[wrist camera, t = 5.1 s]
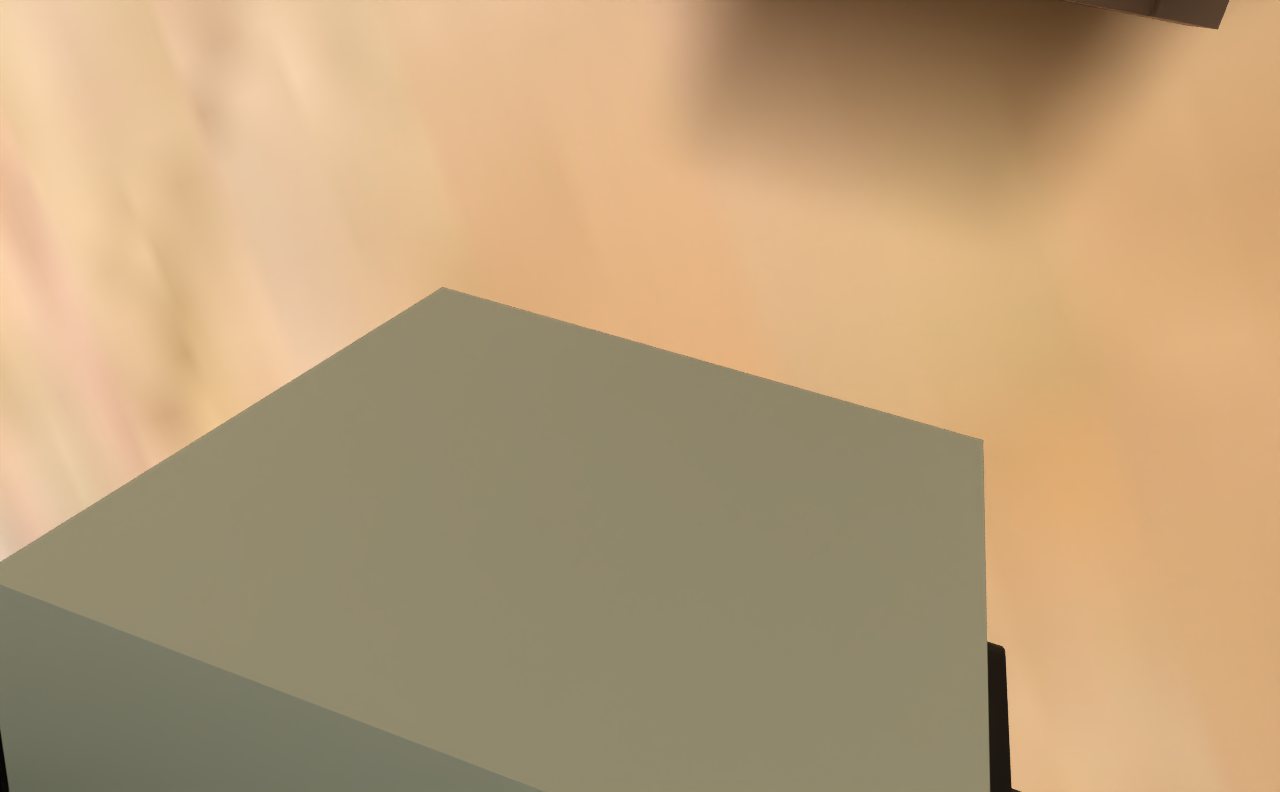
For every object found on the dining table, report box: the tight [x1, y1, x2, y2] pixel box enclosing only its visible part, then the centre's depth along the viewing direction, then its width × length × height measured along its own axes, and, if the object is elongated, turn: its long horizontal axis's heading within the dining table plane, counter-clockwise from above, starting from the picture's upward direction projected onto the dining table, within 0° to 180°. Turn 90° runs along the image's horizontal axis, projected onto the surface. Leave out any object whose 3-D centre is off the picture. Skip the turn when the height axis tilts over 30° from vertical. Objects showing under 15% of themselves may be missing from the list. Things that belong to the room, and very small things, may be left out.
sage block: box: [0, 287, 990, 792], centre depth 9 cm, size 6×6×6 cm
